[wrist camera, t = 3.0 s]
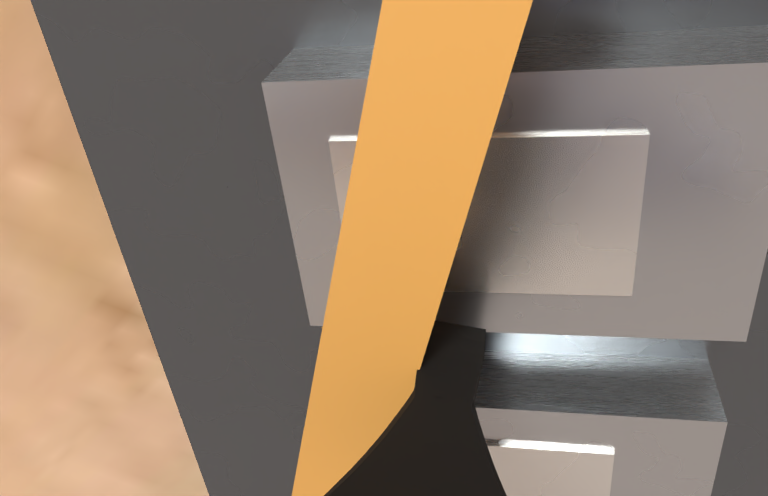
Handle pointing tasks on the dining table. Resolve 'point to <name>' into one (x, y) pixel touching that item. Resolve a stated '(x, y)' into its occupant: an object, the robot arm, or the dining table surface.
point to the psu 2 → (600, 424)
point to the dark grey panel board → (270, 218)
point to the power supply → (570, 183)
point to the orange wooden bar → (403, 215)
